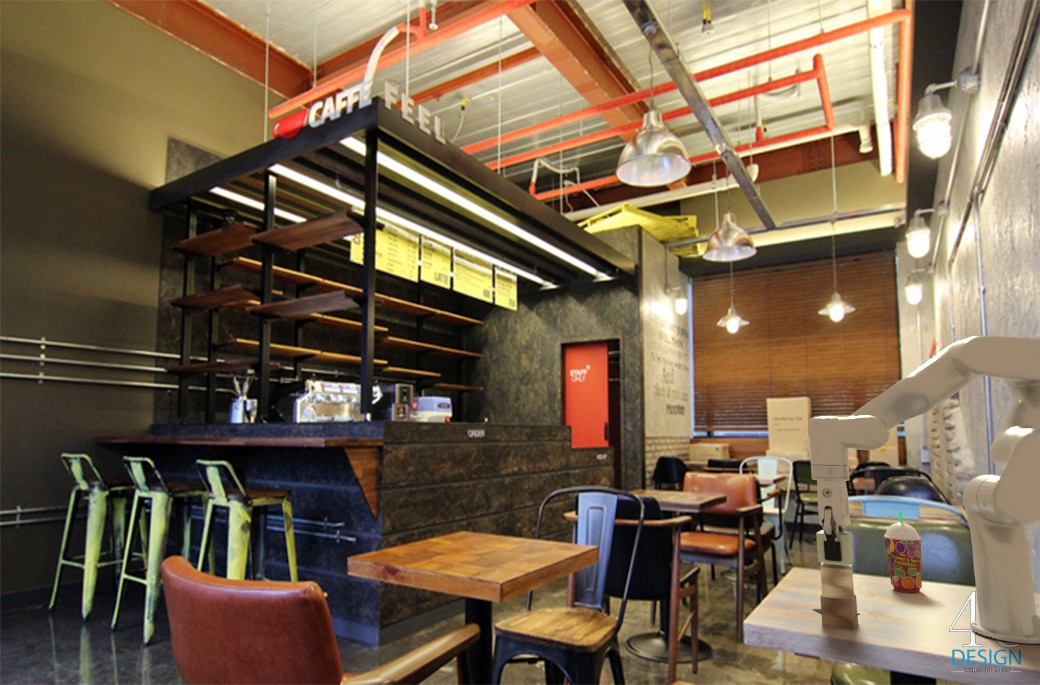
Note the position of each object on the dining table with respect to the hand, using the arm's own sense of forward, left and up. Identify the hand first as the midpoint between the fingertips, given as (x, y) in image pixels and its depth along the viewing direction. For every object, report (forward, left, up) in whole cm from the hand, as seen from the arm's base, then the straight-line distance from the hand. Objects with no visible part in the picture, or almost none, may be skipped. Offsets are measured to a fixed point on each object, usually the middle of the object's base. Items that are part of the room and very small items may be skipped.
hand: (836, 557), depth 137 cm
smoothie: (-9, -43, -14) cm, 46 cm away
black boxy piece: (+2, -10, -14) cm, 18 cm away
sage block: (0, 0, -1) cm, 1 cm away
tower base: (0, 0, -14) cm, 14 cm away
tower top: (0, 0, -8) cm, 8 cm away
